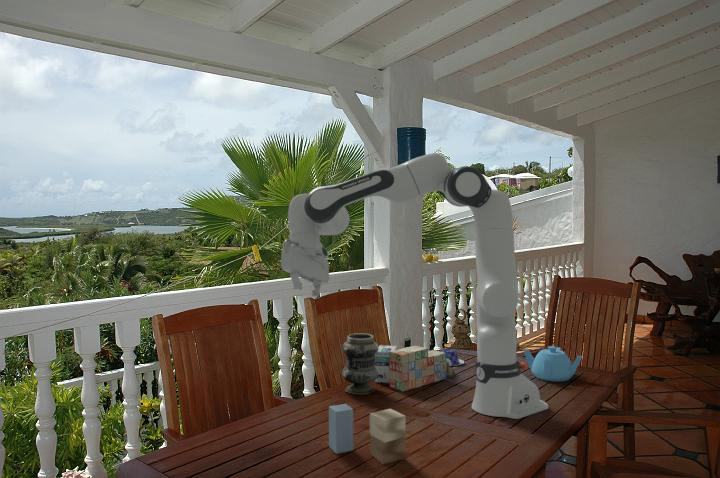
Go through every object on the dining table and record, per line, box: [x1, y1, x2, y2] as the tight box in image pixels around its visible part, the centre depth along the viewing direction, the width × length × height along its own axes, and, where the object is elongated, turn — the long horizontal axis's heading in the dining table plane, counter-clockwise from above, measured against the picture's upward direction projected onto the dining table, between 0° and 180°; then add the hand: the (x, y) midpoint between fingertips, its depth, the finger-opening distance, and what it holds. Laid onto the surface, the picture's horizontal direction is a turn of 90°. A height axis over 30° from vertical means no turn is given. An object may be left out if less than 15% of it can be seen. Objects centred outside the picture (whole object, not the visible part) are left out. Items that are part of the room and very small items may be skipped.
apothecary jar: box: [341, 332, 379, 396], centre depth 181 cm, size 12×12×18 cm
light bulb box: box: [374, 344, 398, 384], centre depth 194 cm, size 11×7×11 cm, turn 168°
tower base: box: [370, 435, 406, 465], centre depth 130 cm, size 6×6×5 cm
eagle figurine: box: [446, 358, 456, 379], centre depth 199 cm, size 8×7×9 cm
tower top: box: [369, 408, 407, 443], centre depth 130 cm, size 6×6×5 cm
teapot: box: [523, 345, 583, 383], centre depth 195 cm, size 15×15×11 cm
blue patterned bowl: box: [440, 348, 465, 367], centre depth 216 cm, size 12×12×5 cm
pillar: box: [328, 403, 354, 454], centre depth 134 cm, size 4×4×10 cm
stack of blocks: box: [388, 345, 447, 392], centre depth 188 cm, size 21×6×12 cm, turn 129°
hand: (307, 292), depth 157 cm, fingers open, 8 cm apart
